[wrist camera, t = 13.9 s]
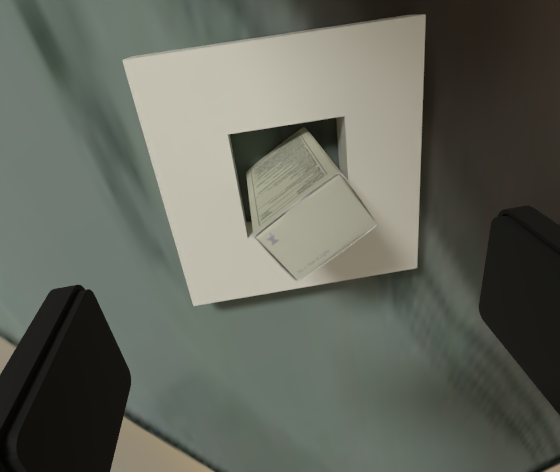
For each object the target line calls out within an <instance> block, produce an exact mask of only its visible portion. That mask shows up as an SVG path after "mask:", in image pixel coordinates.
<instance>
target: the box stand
mask: <svg viewBox="0 0 560 472" xmlns="http://www.w3.org/2000/svg"><path fill="white" fill-rule="evenodd" d="M425 24H426V14H421V15H404V16H398V17H391V18H384V19H378V20H371V21H364V22H358V23H351V24H344V25H338V26H331V27H324V28H318V29H311V30H304V31H298V32H291V33H284V34H278V35H271V36H264V37H258V38H251V39H244V40H238V41H231V42H225V43H218V44H211V45H205V46H198V47H191V48H185V49H178V50H171V51H165V52H158V53H151V54H145V55H138V56H132V57H129V58H126V59H124V60H122V61H123V65H124V68H125V71H126V75H127V78H128V82H129V85H130V89H131V92H132V96H133V99H134V102H135V106H136V109H137V113H138V116H139V120H140V123H141V127H142V130H143V134H144V137H145V140H146V144H147V147H148V151H149V154H150V158H151V161H152V165H153V168H154V171H155V175H156V178H157V182H158V185H159V189H160V192H161V196H162V199H163V202H164V206H165V209H166V213H167V216H168V220H169V223H170V227H171V230H172V234H173V237H174V240H175V244H176V247H177V251H178V254H179V258H180V261H181V265H182V268H183V271H184V275H185V278H186V282H187V285H188V289H189V292H190V296H191V299H192V303H193V306H197V305H203V304H209V303H215V302H221V301H227V300H233V299H238V298H244V297H250V296H256V295H262V294H268V293H274V292H280V291H286V290H291V289H297V288H303V287H309V286H315V285H321V284H327V283H333V282H339V281H344V280H350V279H356V278H362V277H368V276H374V275H380V274H386V273H392V272H397V271H403V270H409V269H415V268H417V258H418V228H419V199H420V170H421V141H422V111H423V82H424V53H425ZM330 118H336V124H337V140H338V155H339V170H340V171H341V172H342V173H343V175H344V176H345V177H346V179H347V180H348V181H349V183H350V184H351V185H352V187H353V188H354V189H355V191H356V192H357V194H358V195H359V196H360V198H361V199H362V201H363V202H364V204H365V205H366V207H367V208H368V210H369V211H370V213H371V214H372V216H373V217H374V218H375V220H376V221H377V223H378V225H377V227H375V228H374V229H373V230H371V231H370V232H369V233H367V234H366V235H365V236H363V237H362V238H360V239H359V240H358V241H356V242H355V243H354V244H352V245H351V246H350V247H348V248H347V249H345V250H344V251H343V252H341V253H340V254H338V255H337V256H336V257H334V258H333V259H332V260H330V261H329V262H327V263H326V264H324V265H323V266H322V267H320V268H319V269H317V270H316V271H314V272H313V273H311V274H310V275H308V276H307V277H305V278H304V279H302V280H301V281H299V282H296V281H294V280H293V279H292V278H291V277H290V276H289V275H288V274H287V273H286V272H285V271H284V270H283V269H282V268H281V267H280V266H279V264H278V263H277V262H276V261H275V260H274V259H273V258H272V257H271V256H270V255H269V254H268V253H267V252H266V251H265V250H264V248H263V247H262V246H261V245H260V244H259V243H258V242H257V241H256V240H255V239H254V237H253V229H252V221H250V222H246V217H245V212H244V206H243V201H242V196H241V191H240V185H239V180H238V175H237V169H236V164H235V159H234V154H233V148H232V143H231V138H230V134H234V133H241V132H247V131H254V130H260V129H266V128H273V127H279V126H285V125H292V124H298V123H304V122H311V121H317V120H323V119H330Z"/></svg>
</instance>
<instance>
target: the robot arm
mask: <svg viewBox="0 0 560 472" xmlns="http://www.w3.org/2000/svg"><path fill="white" fill-rule="evenodd" d="M479 311H480V315H481V317H482V319H483V321H484V322H485V323H486V324H487V326H488V327H489V328H490V329H491V331H492V332H493V333H494V334H495V336H496V337H497V338H498V339H499V341H500V342H501V343H502V344H503V345H504V347H505V348H506V349H507V350H508V352H509V353H510V354H511V355H512V357H513V358H514V359H515V360H516V362H517V363H518V364H519V365H520V367H521V368H522V369H523V370H524V371H525V373H526V374H527V375H528V376H529V378H530V379H531V380H532V381H533V383H534V384H535V385H536V386H537V388H538V389H539V390H540V391H541V392H542V394H543V395H544V396H545V397H546V399H547V400H548V401H549V402H550V404H551V405H552V406H553V407H554V409H555V410H556V411H557V412H558V414H559V415H560V226H559V225H558V224H556V223H555V222H553V221H552V220H550V219H549V218H547V217H546V216H544V215H543V214H541V213H540V212H539V211H537V210H536V209H534V208H533V207H530V206H522V207H516V208H511V209H505V210H502V211H500V213H499V214H498V217H496V218H494V219H493V220H492V223H491V229H490V235H489V242H488V249H487V255H486V262H485V269H484V275H483V282H482V289H481V295H480V302H479ZM130 386H131V375H130V371H129V368H128V366H127V364H126V362H125V360H124V358H123V356H122V353H121V351H120V349H119V347H118V345H117V343H116V340H115V338H114V336H113V334H112V332H111V330H110V327H109V325H108V323H107V321H106V319H105V317H104V314H103V312H102V310H101V308H100V306H99V304H98V302H97V299H96V297H95V295H94V293H93V292H92V291H91V290H89V289H88V290H85V289H84V288H83V287H82V286H81V285H74V286H68V287H63V288H57V289H53V290H51V291H50V292H49V294H48V296H47V297H46V299H45V301H44V302H43V304H42V306H41V307H40V309H39V311H38V312H37V314H36V316H35V317H34V319H33V321H32V322H31V324H30V326H29V327H28V329H27V331H26V333H25V334H24V336H23V338H22V339H21V341H20V343H19V344H18V346H17V348H16V349H15V351H14V353H13V355H12V356H11V358H10V359H9V361H8V363H7V365H6V366H5V368H4V370H3V371H2V373H1V375H0V472H110V469H111V465H112V461H113V457H114V452H115V449H116V444H117V440H118V436H119V432H120V428H121V424H122V420H123V416H124V411H125V407H126V403H127V399H128V395H129V391H130Z"/></svg>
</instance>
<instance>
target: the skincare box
mask: <svg viewBox="0 0 560 472" xmlns="http://www.w3.org/2000/svg"><path fill="white" fill-rule="evenodd" d="M246 178H247V186H248V195H249V203H250V212H251V220H252V229H253V237H254V239H255V240H256V241H257V242H258V243H259V244H260V245H261V246H262V247H263V248H264V250H265V251H266V252H267V253H268V254H269V255H270V256H271V257H272V258H273V259H274V260H275V261H276V262H277V263H278V264H279V266H280V267H281V268H282V269H283V270H284V271H285V272H286V273H287V274H288V275H289V276H290V277H291V278H292V279H293V280H294V281H296V282H299V281H301V280H302V279H304V278H305V277H307V276H308V275H310V274H311V273H313V272H314V271H316V270H317V269H319V268H320V267H322V266H323V265H324V264H326V263H327V262H329V261H330V260H332V259H333V258H334V257H336V256H337V255H338V254H340V253H341V252H343V251H344V250H345V249H347V248H348V247H350V246H351V245H352V244H354V243H355V242H356V241H358V240H359V239H360V238H362V237H363V236H365V235H366V234H367V233H369V232H370V231H371V230H373V229H374V228H375V227H377V225H378V223H377V221H376V220H375V218H374V217H373V216H372V214H371V213H370V211H369V210H368V208H367V207H366V205H365V204H364V202H363V201H362V199H361V198H360V196H359V195H358V194H357V192H356V191H355V189H354V188H353V187H352V185H351V184H350V183H349V181H348V180H347V179H346V177H345V176H344V175H343V173H342V172H341V171H340V170H339V168H338V167H337V166H336V165H335V164H334V162H333V161H332V160H331V159H330V157H329V156H328V155H327V154H326V152H325V151H324V150H323V149H322V147H321V146H320V145H319V144H318V142H317V141H316V140H315V139H314V137H313V136H312V135H311V134H310V132H309V131H308V130H307V129H306V128H305V127H302V128H301V129H299V130H298V131H296V132H295V133H294V134H293V135H291V136H290V137H289V138H287V139H286V140H285V141H283V142H282V143H281V144H280V145H278V146H277V147H276V148H274V149H273V150H272V151H271V152H269V153H268V154H267V155H265V156H264V157H263V158H262V159H261V160H259V161H258V162H257V163H256V164H254V165H253V166H252V167H251V168H250V169H248V170H247V171H246Z"/></svg>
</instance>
